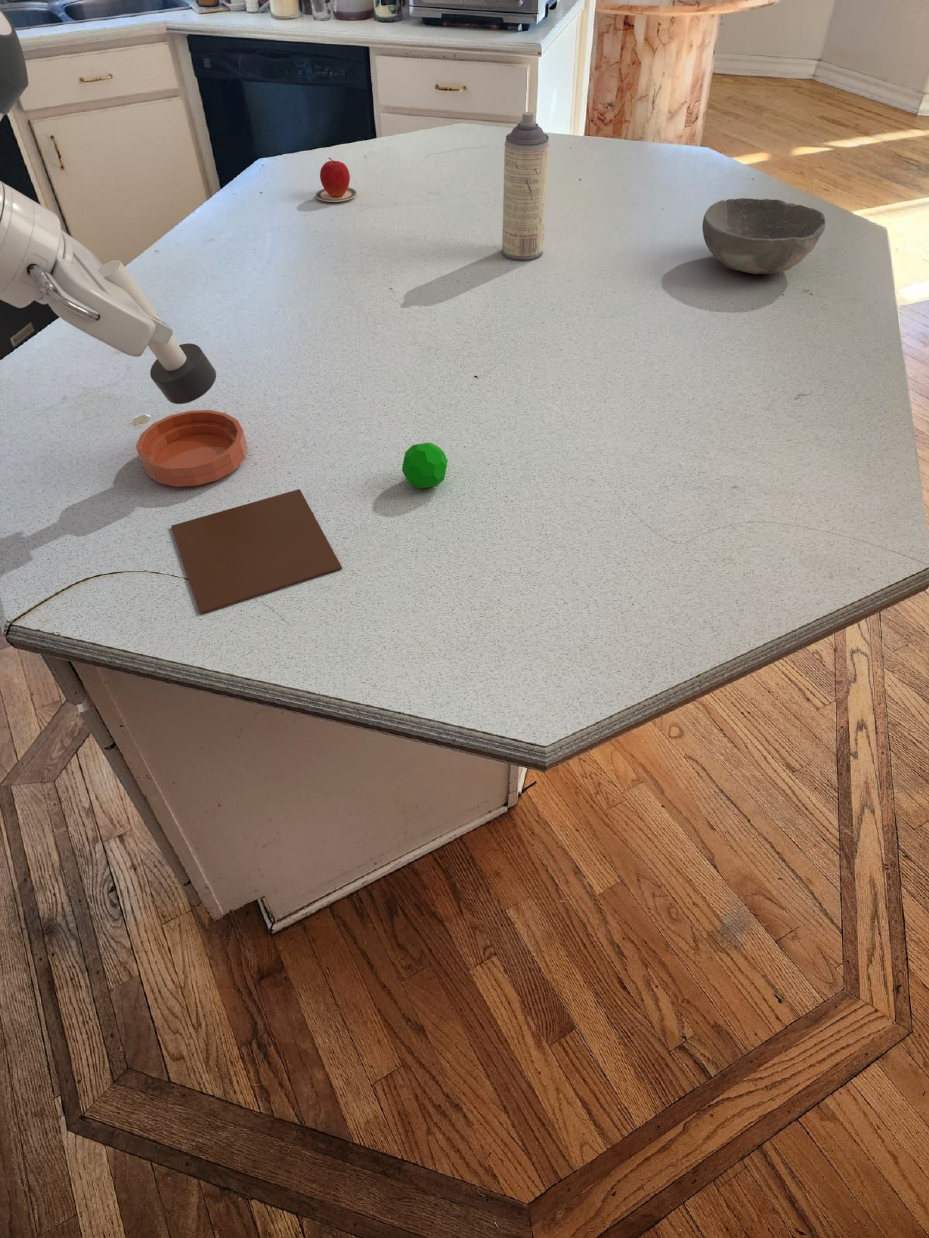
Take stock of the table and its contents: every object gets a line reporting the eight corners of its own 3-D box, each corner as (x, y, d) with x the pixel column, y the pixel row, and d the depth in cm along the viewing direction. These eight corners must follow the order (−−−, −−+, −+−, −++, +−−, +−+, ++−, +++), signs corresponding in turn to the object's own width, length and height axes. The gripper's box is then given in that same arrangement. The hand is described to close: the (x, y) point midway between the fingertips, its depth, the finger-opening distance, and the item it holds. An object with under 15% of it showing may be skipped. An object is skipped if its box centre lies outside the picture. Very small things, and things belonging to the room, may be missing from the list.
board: (200, 614, 71) (200, 612, 71) (171, 527, 79) (171, 525, 79) (342, 569, 75) (341, 566, 75) (300, 491, 83) (299, 488, 83)
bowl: (671, 258, 125) (681, 206, 119) (752, 237, 130) (765, 186, 124) (748, 300, 114) (763, 245, 108) (833, 276, 119) (851, 222, 114)
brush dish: (155, 502, 82) (146, 479, 80) (137, 447, 90) (129, 425, 87) (259, 473, 86) (253, 451, 84) (234, 422, 93) (228, 401, 91)
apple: (323, 188, 150) (318, 151, 145) (362, 191, 148) (358, 153, 144) (310, 203, 144) (304, 164, 139) (350, 205, 143) (345, 167, 138)
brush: (169, 412, 80) (81, 298, 69) (163, 381, 84) (77, 267, 72) (220, 387, 80) (140, 269, 69) (211, 357, 84) (134, 240, 72)
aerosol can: (551, 253, 127) (560, 113, 112) (522, 264, 124) (528, 123, 109) (521, 241, 130) (527, 105, 116) (493, 252, 127) (495, 113, 113)
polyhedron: (455, 476, 85) (454, 440, 81) (437, 501, 82) (435, 465, 78) (415, 466, 86) (412, 430, 83) (395, 490, 83) (392, 454, 80)
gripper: (64, 257, 59) (215, 341, 70) (5, 184, 70) (143, 266, 81) (29, 328, 60) (182, 399, 71) (-23, 246, 72) (116, 317, 83)
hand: (160, 328), depth 76 cm, fingers closed on brush, 2 cm apart
